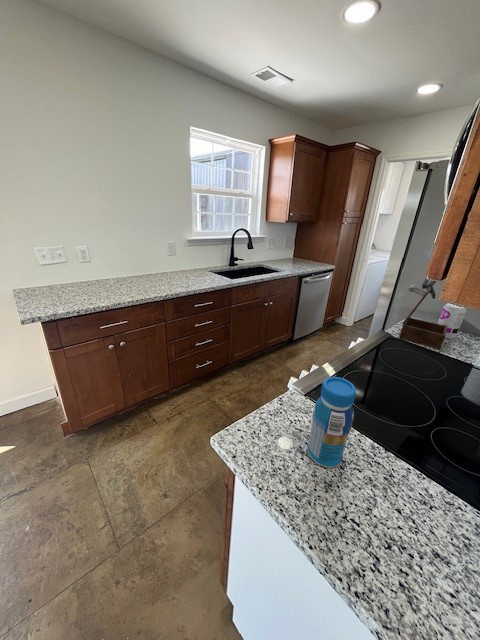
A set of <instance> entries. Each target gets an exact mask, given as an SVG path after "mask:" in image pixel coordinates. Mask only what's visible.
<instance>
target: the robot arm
mask: <svg viewBox="0 0 480 640" xmlns="http://www.w3.org/2000/svg"><path fill="white" fill-rule="evenodd" d="M432 249H433V246H432ZM432 249H430V252H429V251H428V252H427V257H428V259H427V261H428V262H429V260H430V257H431V253H432ZM427 257H426V258H427ZM436 283H437V282H436V281H432V280H430V279H429V280H427V279H426V278H425V279H424V280H423V282H422V285H421V290H425V291H426V290H427V289H428V288H429V286H431V289H430V291H429V293H428V294H430V296H431V298H432V300H434V299H436V295H437V294H436V292H435V289H434V286H435V284H436Z"/></svg>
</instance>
